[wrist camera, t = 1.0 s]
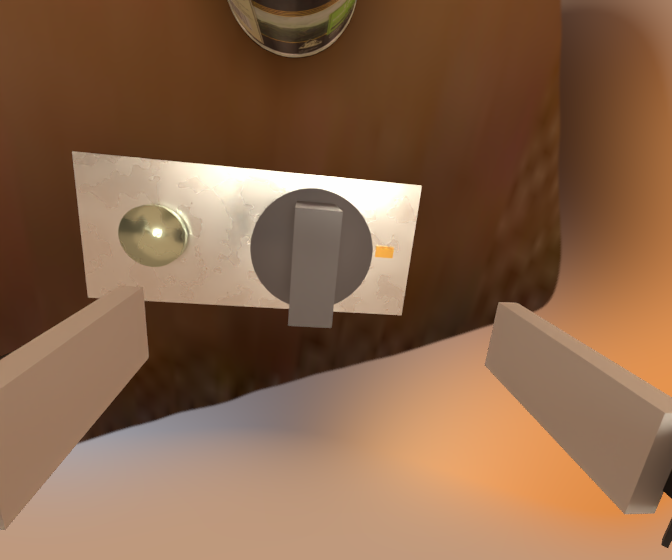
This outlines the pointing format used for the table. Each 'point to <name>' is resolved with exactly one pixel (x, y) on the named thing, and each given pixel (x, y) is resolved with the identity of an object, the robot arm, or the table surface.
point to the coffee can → (293, 23)
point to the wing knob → (311, 253)
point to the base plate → (220, 230)
